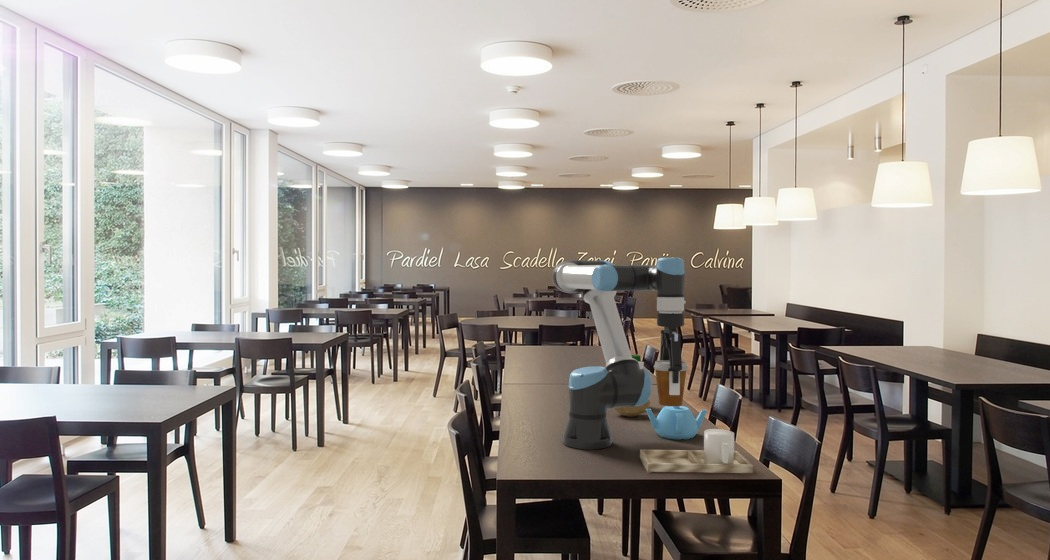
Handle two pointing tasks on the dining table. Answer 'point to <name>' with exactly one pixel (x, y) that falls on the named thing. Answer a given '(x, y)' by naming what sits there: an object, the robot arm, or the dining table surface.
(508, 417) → the dining table surface
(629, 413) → the potato
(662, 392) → the disposable coffee cup
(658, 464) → the cup carrier
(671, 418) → the teapot
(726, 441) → the white mug
